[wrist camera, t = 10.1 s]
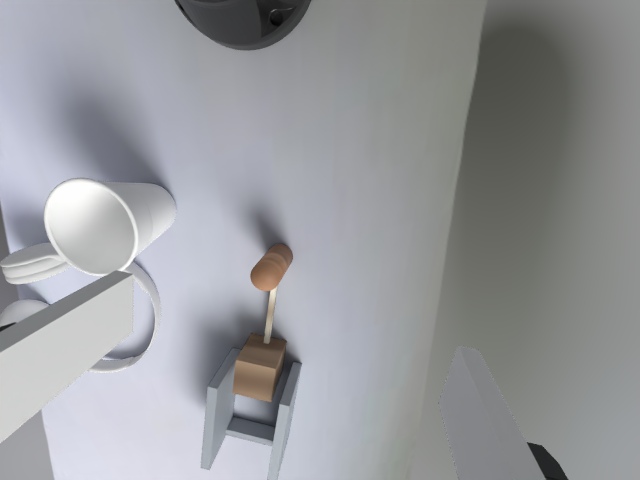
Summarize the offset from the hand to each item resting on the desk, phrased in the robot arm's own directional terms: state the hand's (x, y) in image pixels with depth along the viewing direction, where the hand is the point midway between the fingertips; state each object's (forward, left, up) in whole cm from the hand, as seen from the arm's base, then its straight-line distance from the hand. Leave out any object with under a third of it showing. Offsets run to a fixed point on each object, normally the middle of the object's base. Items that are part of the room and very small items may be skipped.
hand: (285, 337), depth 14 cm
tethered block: (+16, -6, -29) cm, 33 cm away
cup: (+5, -23, -29) cm, 37 cm away
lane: (+29, -6, -29) cm, 42 cm away
